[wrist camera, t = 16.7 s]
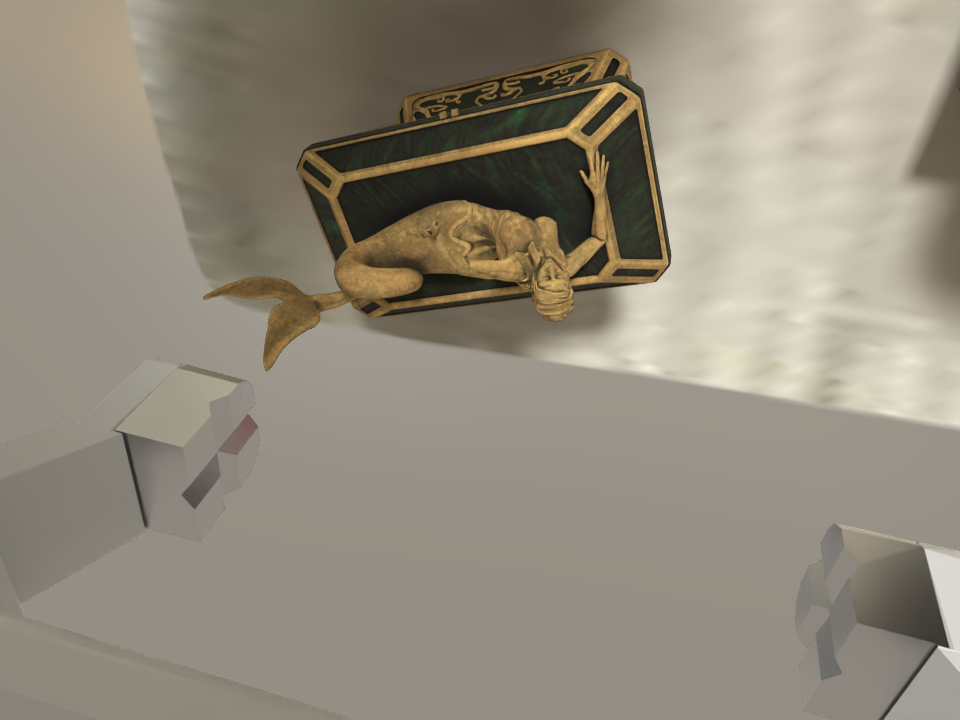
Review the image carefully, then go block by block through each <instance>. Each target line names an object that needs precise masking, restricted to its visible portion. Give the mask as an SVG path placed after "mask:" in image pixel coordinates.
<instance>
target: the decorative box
mask: <svg viewBox="0 0 960 720" xmlns="http://www.w3.org/2000/svg"><path fill="white" fill-rule="evenodd" d="M397 122H398V125H393V126H389V127H384V128H380V129H376V130H371V131H367V132H362V133H358V134H353V135H349V136H345V137H340V138H336V139H331V140H327V141H322V142H318V143H314V144H311V145H310V146H309V147H308V148H306V149H305V150H304V151H303V153H302V155H301V158H300V160H299V163H298V165H297V171H298V174H299V177H300V179H301V181H302V184H303V186H304V189H305V191H306V194H307V196H308V198H309V201H310V203H311V206H312V208H313V211H314V213H315V216H316V218H317V220H318V223H319V225H320V228H321V230H322V233H323V235H324V238H325V240H326V242H327V245H328V247H329V250H330V252H331V255H332V257H333V260H334V262H335V264H336V265H335V268H334V275H335V279H336V282H337V284H338V286H339V288H340V289H341V290H342V291H339V292H335V293H329V294H319V295H311V296H309V295H305V294H303V293H302V292H301V291H300V290H299V289H298V288H296V287H295V286H294V285H293V284H291V283H289V282H287V281H284V280H281V279H277V278H271V277H255V278H247V279H242V280H239V281H236V282H234V283H231V284H228V285H226V286H224V287H222V288H219V289H217V290H215V291H213V292H211V293H209V294H207V295H205V296H204V297H203V299H205V300H207V299H210V298H213V297H217V296H221V295H232V296H237V297H241V298H247V299H265V298H279V299H281V300H283V301H284V303H282V304H278V305H276V306H275V307H274V308H273V310H272V312H271V314H270V316H269V319H268V330H267V334H266V339H265V347H264V355H263V363H264V368H265V370H266V371H268V370H269V369H270V368H271V367H272V366H273V364H274V363H275V361H276V360H277V358H278V356H279V354H280V353H281V352H282V350H283V349H284V348H285V347H286V346H287V345H288V344H289V343H290V342H291V341H292V340H294V339H295V338H296V337H297V336H299V335H300V334H302V333H304V332H305V331H307V330H309V329H312V328H314V327H315V326H316V325H317V324H318V323H319V321H320V314H319V313H320V312H323V311H326V310H329V309H333V308H336V307H339V306H341V305H343V304H346V303H348V302H350V301H351V304H352V306H353V307H354V308H355V309H357V310H358V311H360V312H362V313H363V314H365V315H367V316H368V317H370V318H378V317H385V316H393V315H401V314H409V313H417V312H425V311H433V310H440V309H448V308H456V307H464V306H472V305H480V304H488V303H495V302H503V301H511V300H519V299H527V298H532V301H533V304H534V306H535V308H536V310H537V311H538V313H539V314H541V316H542V317H543V318H544V319H545V320H551V321H554V322H557V321H562V320H564V318H565V317H567V315H568V313H570V312H571V311H572V310H573V308H574V305H573V294H574V292H582V291H590V290H598V289H606V288H613V287H621V286H629V285H637V284H645V283H652V282H656V281H657V280H658V279H659V278H660V277H661V276H662V274H663V273H664V272H665V271H666V270H667V268H668V267H669V266H670V263H671V250H670V244H669V238H668V232H667V226H666V221H665V215H664V209H663V203H662V197H661V191H660V185H659V179H658V174H657V168H656V162H655V156H654V150H653V144H652V138H651V132H650V126H649V121H648V115H647V109H646V103H645V97H644V91H643V89H642V88H641V87H639V86H638V85H636V84H635V83H633V82H632V77H631V71H630V66H629V62H628V60H626V59H625V58H623V57H622V56H620V55H619V54H617V53H616V52H614V51H613V50H611V49H605V50H601V51H597V52H593V53H589V54H584V55H580V56H576V57H572V58H568V59H563V60H559V61H555V62H551V63H547V64H542V65H538V66H534V67H530V68H526V69H521V70H517V71H513V72H509V73H505V74H500V75H496V76H492V77H488V78H484V79H480V80H475V81H471V82H467V83H463V84H459V85H454V86H450V87H446V88H442V89H438V90H433V91H429V92H425V93H421V94H417V95H412V96H408V97H407V98H405V99H404V101H403V103H402V105H401V108H400V110H399V112H398V114H397Z"/></svg>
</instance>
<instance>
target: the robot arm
mask: <svg viewBox="0 0 960 720" xmlns="http://www.w3.org/2000/svg"><path fill="white" fill-rule="evenodd" d="M255 403H256V401H255V395H254V388H253V385H252V384H250V383H249V382H247V381H246V380H242V379H238V378H235V377H231V376H227V375H223V374H220V373H216V372H212V371H208V370H205V369H201V368H197V367H194V366H189V365H183V364H179V363H176V362H172V361H168V360H165V359H161V358H157V357H154V358H151V359H147V360H145V361H144V362H143V363H142V364H141V365H140V366H138V367H137V368H136V369H135V370H134V371H133V372H132V373H131V374H130V375H129V376H128V377H127V378H125V379H124V380H123V381H122V382H121V383H120V384H119V385H118V386H117V387H116V388H115V389H114V390H113V391H111V392H110V393H109V394H108V395H107V396H106V397H105V398H104V399H103V400H102V401H101V402H100V403H99V404H97V405H96V406H95V407H94V408H93V409H92V410H91V411H90V412H89V413H88V414H87V415H85V416H84V417H83V418H82V419H81V420H80V421H79V422H76V421H72V420H67V421H64V422H61V423H58V424H55V425H52V426H49V427H46V428H43V429H41V430H37V431H35V432H32V433H29V434H26V435H23V436H20V437H17V438H15V439H11V440H8V441H6V442H3V443H0V720H358V719H354V718H351V717H348V716H345V715H341V714H338V713H335V712H332V711H328V710H325V709H322V708H319V707H315V706H312V705H309V704H305V703H302V702H299V701H296V700H293V699H290V698H286V697H283V696H280V695H277V694H273V693H270V692H267V691H264V690H260V689H257V688H254V687H251V686H247V685H244V684H241V683H238V682H234V681H231V680H228V679H224V678H221V677H218V676H215V675H212V674H208V673H205V672H202V671H198V670H195V669H192V668H189V667H186V666H182V665H179V664H176V663H173V662H169V661H166V660H162V659H160V658H156V657H153V656H150V655H146V654H143V653H140V652H137V651H133V650H130V649H127V648H124V647H121V646H117V645H114V644H111V643H107V642H104V641H101V640H98V639H95V638H91V637H88V636H85V635H82V634H78V633H75V632H72V631H69V630H65V629H62V628H59V627H56V626H52V625H49V624H46V623H43V622H39V621H36V620H33V619H30V618H27V617H26V615H25V612H24V610H23V607H22V605H21V604H22V603H24V602H25V601H27V600H29V599H30V598H32V597H34V596H35V595H37V594H39V593H41V592H42V591H44V590H46V589H48V588H49V587H51V586H53V585H55V584H56V583H58V582H60V581H61V580H63V579H65V578H67V577H68V576H70V575H72V574H74V573H75V572H77V571H79V570H81V569H82V568H84V567H86V566H87V565H89V564H91V563H93V562H94V561H96V560H98V559H100V558H101V557H103V556H105V555H106V554H108V553H110V552H111V551H113V550H115V549H117V548H119V547H120V546H122V545H124V544H125V543H127V542H129V541H131V540H132V539H134V538H136V537H137V536H139V535H141V534H143V533H144V532H145V531H146V530H145V529H150V530H154V531H158V532H162V533H166V534H170V535H174V536H178V537H182V538H186V539H190V540H194V541H198V542H201V541H202V540H203V538H204V537H205V535H206V534H207V533H208V531H209V530H210V529H211V527H212V526H213V525H214V523H215V522H216V521H217V519H218V518H219V516H220V515H221V514H222V512H223V511H224V510H225V505H224V499H223V495H225V494H227V493H229V492H231V491H234V490H236V489H238V488H240V487H241V486H242V485H243V483H244V482H245V480H246V479H247V477H248V476H249V475H250V473H251V471H252V468H253V465H254V463H255V460H256V457H257V455H258V447H259V429H258V426H257V424H256V423H255V422H254V421H253V419H252V418H251V417H250V415H249V414H248V413H249V411H250V410H251V409H252V408H253V406H254V405H255ZM821 552H822V559H821V560H819V561H817V562H815V563H813V564H810V565H809V566H808V568H807V570H806V573H805V574H804V577H803V579H802V581H801V584H800V588H799V592H798V596H797V601H796V612H795V614H796V615H795V622H796V635H797V636H798V638H799V639H800V640H801V641H802V643H803V644H804V645H805V647H806V648H807V650H806V652H805V654H804V656H803V658H802V659H801V661H800V663H799V672H800V683H801V694H802V705H803V711H805V712H809V713H812V714H815V715H819V716H822V717H825V718H828V719H831V720H960V552H959V551H956V550H951V549H947V548H942V547H938V546H933V545H929V544H925V543H920V542H916V543H915V542H913V541H909V540H905V539H901V538H896V537H892V536H888V535H883V534H879V533H875V532H871V531H867V530H862V529H858V528H854V527H850V526H845V525H841V524H837V523H834V524H833V525H832V526H831V527H830V528H829V529H828V530H827V532H826V533H825V535H824V537H823V539H822V541H821Z"/></svg>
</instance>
